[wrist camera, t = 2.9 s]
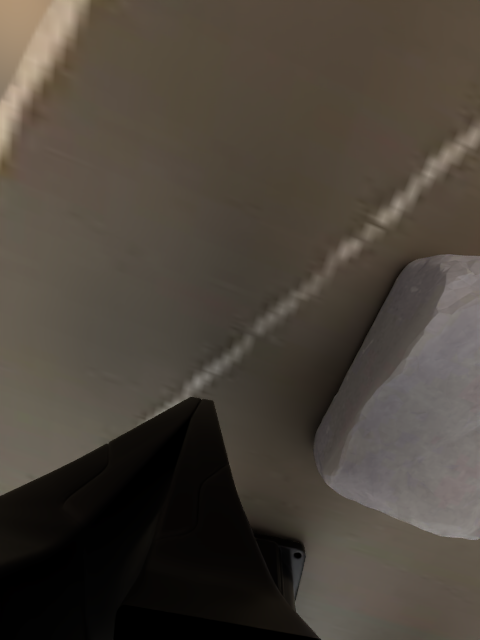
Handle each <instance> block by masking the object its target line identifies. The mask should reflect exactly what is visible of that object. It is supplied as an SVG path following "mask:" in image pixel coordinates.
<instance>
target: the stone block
mask: <svg viewBox="0 0 480 640" xmlns="http://www.w3.org/2000/svg"><path fill="white" fill-rule="evenodd" d="M313 452H314V457H315V461H316V465H317V469H318V471H319V473H320V475H321V476H322V478H323V479H324V481H325V483H326V484H327V485H328V486H330V487H331V488H332V489H333V490H335V491H336V492H337V493H338V494H340V495H341V496H343V497H345V498H347V499H351V500H355V501H356V502H358V503H360V504H362V505H364V506H366V507H369V508H372V509H376V510H379V511H381V512H383V513H385V514H387V515H389V516H392V517H394V518H396V519H399V520H401V521H404V522H406V523H409V524H411V525H414V526H416V527H418V528H420V529H422V530H425V531H428V532H430V533H433V534H436V535H439V536H441V537H461V538H465V539H472V540H477V539H479V538H480V256H463V255H453V254H445V255H436V256H432V257H427V258H421V259H417V260H415V261H413V262H410V263H409V264H408V265H407V266H406V267H405V268H404V269H403V270H402V272H401V273H400V275H399V276H398V278H397V279H396V281H395V283H394V285H393V287H392V289H391V291H390V293H389V295H388V297H387V299H386V300H385V302H384V304H383V305H382V307H381V309H380V311H379V313H378V315H377V317H376V319H375V321H374V323H373V325H372V327H371V329H370V330H369V332H368V334H367V336H366V338H365V340H364V342H363V344H362V346H361V348H360V350H359V352H358V353H357V355H356V357H355V359H354V361H353V363H352V365H351V367H350V368H349V370H348V372H347V374H346V376H345V378H344V380H343V382H342V385H341V387H340V389H339V392H338V393H337V394H336V396H335V397H334V398H333V400H332V402H331V405H330V406H329V408H328V410H327V412H326V414H325V416H324V417H323V419H322V422H321V424H320V426H319V427H318V429H317V432H316V435H315V439H314V448H313Z"/></svg>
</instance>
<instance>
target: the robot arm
mask: <svg viewBox="0 0 480 640" xmlns="http://www.w3.org/2000/svg"><path fill="white" fill-rule="evenodd" d="M305 558H306V554H305V548H304V546H303V545H302V544H301V543H298V542H293V541H288V540H283V539H277V538H272V537H267V536H262V535H257V534H253V532H252V529H251V527H250V524H249V522H248V520H247V517H246V515H245V512H244V510H243V507H242V504H241V502H240V499H239V496H238V494H237V491H236V487H235V484H234V480H233V477H232V473H231V469H230V466H229V462H228V458H227V453H226V449H225V445H224V441H223V437H222V433H221V429H220V425H219V421H218V417H217V413H216V409H215V405H214V401H213V400H207V399H202V400H201V399H200V398H195V397H190V398H188V399H186V400H184V401H182V402H181V403H179V404H177V405H175V406H173V407H172V408H170V409H168V410H166V411H164V412H163V413H161V414H159V415H157V416H155V417H154V418H152V419H150V420H148V421H146V422H145V423H143V424H141V425H139V426H137V427H136V428H134V429H132V430H130V431H128V432H127V433H125V434H123V435H121V436H119V437H118V438H116V439H114V440H112V441H110V442H109V444H105V445H103V446H101V447H99V448H98V449H96V450H94V451H92V452H90V453H88V454H86V455H85V456H83V457H81V458H79V459H77V460H75V461H73V462H71V463H69V464H67V465H65V466H63V467H61V468H59V469H57V470H55V471H53V472H51V473H49V474H46V475H44V476H42V477H40V478H38V479H36V480H34V481H31V482H29V483H27V484H25V485H23V486H21V487H19V488H17V489H14V490H12V491H10V492H8V493H6V494H4V495H2V496H0V640H321V639H320V638H319V637H318V636H317V635H316V634H315V633H314V631H313V630H312V629H311V628H310V627H309V626H308V625H307V624H306V623H305V622H304V620H303V619H302V618H301V617H300V616H299V615H298V614H297V613H296V609H295V600H296V596H297V591H298V587H299V583H300V579H301V575H302V570H303V566H304V562H305Z"/></svg>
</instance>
